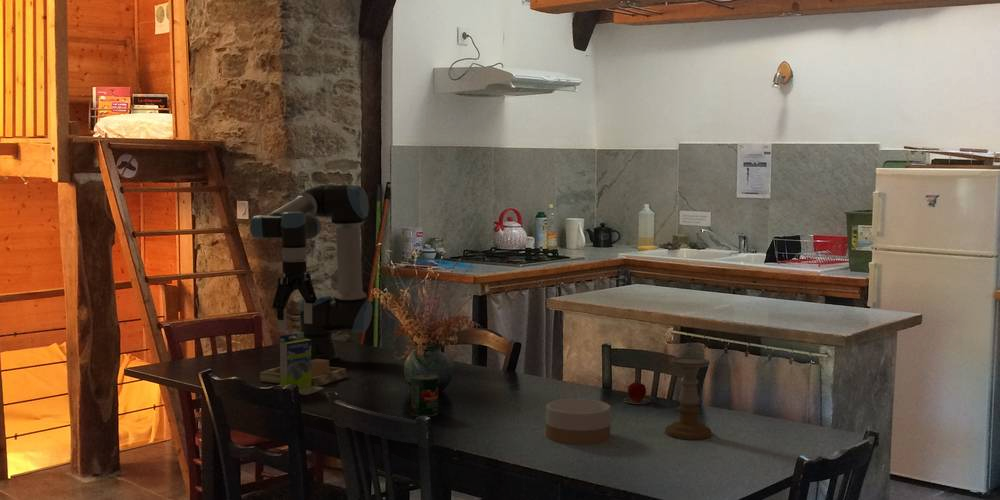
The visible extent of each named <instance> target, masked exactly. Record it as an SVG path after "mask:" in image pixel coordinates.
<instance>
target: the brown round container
mask: <svg viewBox="0 0 1000 500" xmlns="http://www.w3.org/2000/svg"><path fill="white" fill-rule="evenodd" d="M611 415H612V414H611V405H610V404H609V403H607V402H604V401H600V400H598V399H597V400H596V399H591V398H590V399H589V398H565V399H564V398H563V399H556V400H553V401H549V402H548V403H547V404H546V405H545V437H546V438H547V439H548V440H550V441H552V442H556V443H559V444H565V445H574V444H579V445H581V446H582V445H585V446H586V445H595V444H596V443H597V444H601V442H602V443H605V442H607V441H609V440H610V439H611V421H612V420H611V418H612V416H611ZM608 439H609V440H608ZM604 441H605V442H604ZM579 445H578V446H579Z"/></svg>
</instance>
